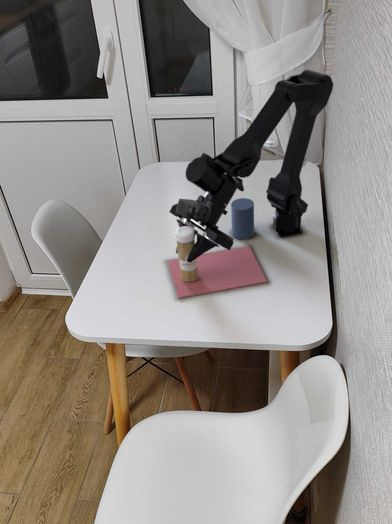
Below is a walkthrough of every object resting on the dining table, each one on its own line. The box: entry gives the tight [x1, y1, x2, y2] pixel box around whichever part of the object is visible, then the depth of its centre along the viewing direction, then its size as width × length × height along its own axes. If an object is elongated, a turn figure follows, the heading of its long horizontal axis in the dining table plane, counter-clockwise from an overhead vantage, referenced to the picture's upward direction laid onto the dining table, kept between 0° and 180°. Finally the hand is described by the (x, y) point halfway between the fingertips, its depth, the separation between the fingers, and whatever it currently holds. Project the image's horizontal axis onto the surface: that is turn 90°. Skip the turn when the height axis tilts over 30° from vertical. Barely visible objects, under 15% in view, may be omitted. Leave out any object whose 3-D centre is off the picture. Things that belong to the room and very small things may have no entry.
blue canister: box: [230, 197, 255, 240], centre depth 143 cm, size 6×6×9 cm
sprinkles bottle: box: [174, 226, 199, 282], centre depth 128 cm, size 5×5×13 cm
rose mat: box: [167, 245, 268, 300], centre depth 135 cm, size 22×16×1 cm
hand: (182, 257), depth 128 cm, fingers closed on sprinkles bottle, 4 cm apart
